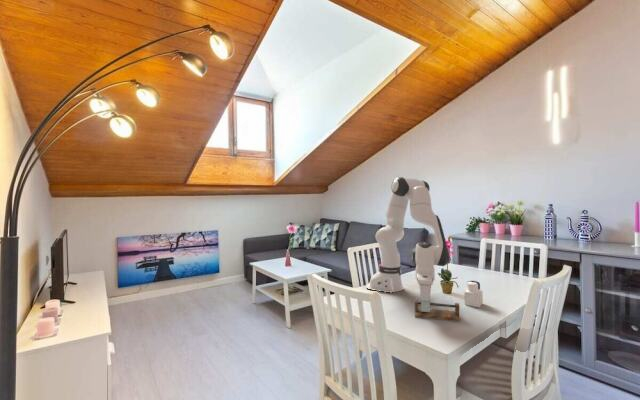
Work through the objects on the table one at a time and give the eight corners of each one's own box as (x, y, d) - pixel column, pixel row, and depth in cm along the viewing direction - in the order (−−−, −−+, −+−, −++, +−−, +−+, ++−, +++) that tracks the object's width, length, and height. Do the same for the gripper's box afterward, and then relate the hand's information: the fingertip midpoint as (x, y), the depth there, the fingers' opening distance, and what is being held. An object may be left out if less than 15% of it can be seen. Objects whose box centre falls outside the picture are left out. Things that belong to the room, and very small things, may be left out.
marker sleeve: (421, 311, 150) (421, 297, 149) (421, 307, 154) (421, 293, 154) (430, 312, 148) (429, 297, 148) (429, 308, 153) (429, 294, 153)
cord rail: (414, 317, 149) (414, 303, 149) (415, 310, 157) (415, 298, 157) (460, 321, 143) (459, 307, 143) (458, 314, 150) (458, 301, 150)
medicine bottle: (468, 300, 168) (467, 278, 167) (482, 303, 163) (482, 281, 163) (464, 304, 162) (464, 282, 162) (479, 307, 158) (479, 284, 157)
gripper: (418, 269, 161) (419, 295, 162) (417, 281, 142) (418, 310, 143) (431, 270, 159) (431, 296, 160) (432, 282, 140) (433, 312, 141)
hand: (425, 303), depth 151 cm, fingers closed on marker sleeve, 5 cm apart
